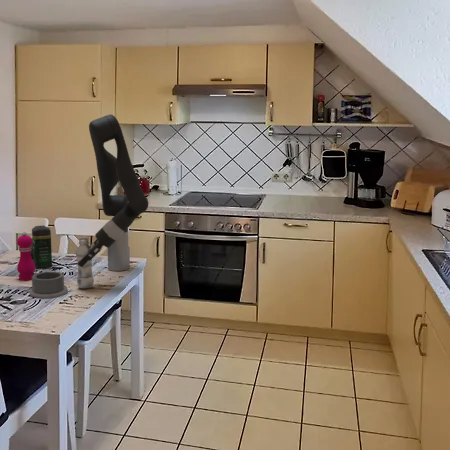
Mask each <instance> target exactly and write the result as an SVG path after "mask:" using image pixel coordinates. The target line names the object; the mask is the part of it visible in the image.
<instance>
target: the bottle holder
mask: <svg viewBox="0 0 450 450" xmlns="http://www.w3.org/2000/svg"><path fill="white" fill-rule="evenodd" d="M34 274H35V275H33V276H32V280H31V286H32V287H31V288H30V290H29V291H28V292H29V296H30V297H32V298H35V299H36V298H37V299H53V298H58V297H61V296H64V295H66V294H67V293H68V287H67V286H66V285H65V276H64V275H65V274H64V273H63V272H60V271H43V272H38V273H34Z"/></svg>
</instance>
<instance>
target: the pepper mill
mask: <svg viewBox="0 0 450 450" xmlns="http://www.w3.org/2000/svg"><path fill="white" fill-rule="evenodd" d="M16 244H17V245H18V251H19V261H18V263H17V267H16V271H17V272H18V273H19V274H18V280H20V281H32V276H33V275H35V274H36V273H34V272H35V271H36V268H35V264H34V262H33V259H32V257H31V250H32V249H31V245H32V236H29V235H28V233H27V232H26V231H22V233H21V235H20V236H18V238H17V240H16Z"/></svg>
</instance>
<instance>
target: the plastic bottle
mask: <svg viewBox="0 0 450 450" xmlns="http://www.w3.org/2000/svg"><path fill="white" fill-rule="evenodd" d="M89 243H90V241H89V238H87V237H84V238H83V237H81V238H79V240H78V247H77V249H76V251H75V256H76V262H77V278H76V279H77V280H76V283H77V285H76V286H77V287H78V288H79V289H83V290H84V289H85V290H86V289H90V288H92V287H93V286H94V282H95V278H94V276H93V268H92V267H93V266H92V265H93V264H92V263H93V258H92V259H91V261H88V262H87V263H86V264H85V265H84V266H83V267H80V266H79V265H78V262H79V261H80V260H81V259H82V258H83V257H84V256H85V255H86V254H87V251H88V250H89V249H90V245H89ZM88 256H89V257H91V255H90V254H89V255H88Z"/></svg>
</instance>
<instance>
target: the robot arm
mask: <svg viewBox="0 0 450 450" xmlns="http://www.w3.org/2000/svg"><path fill="white" fill-rule="evenodd" d="M88 131H89V135H90V140H91V142H92V147H93V149H94V150H93V151H94V156H95V162H96V168H97V176H98V179H99V185H100V186H99V187H100V190H101V191H100V192H101V202H102V211H103V214H104V215H105V216H106V217H112V218H111V219H110V220H108V221H107V222H106V223H105V224H104V225H103V226H102V227H101V228H100V229H99V230H98V231H97V232H96V233H95V238H96V239H95V240H94V241H93V242H92V243H91V244H90V245H89V246H90V249H89V250H88V251H87V254H86V255H85V256H84V257H83V258H82V259H81V260H80V261H79V262H78V263H77V266H78V265H79V266H80V267H83V266H84V265H85V264H86V263H87V262H88V261H91V259H92V260H93V259H94V257H96V256H97V255H98V253H100V252H101V250H102V249H103V247H105V248H107V269H108V270H109V271H112V272H121V271H127V270H129V268H130V267H131V265H130V264H131V258H130V246H129V227H130V226H132V224H133V223H134V221H135V220H136V219H137V218H138V217H139V216H140V215H141V214H144V213H145V212H146V211H147V210H148V208H149V200H148V197H147V196H146V195H145V194H144V191H143V189H142V187H141V183H140V180H139V177H138V175H137V173H136V170H135V168H134V166H133V163H132V161H131V160H132V159H131V158H130V154H129V150H128V148H127V147H128V146H127V143H126V141H125V137H124V134H123V131H122V127H121V124H120V123H119V121H118V119H117V118H116V116H115V115H114V114H107V115H104V116H102V117H99V118H97V119H93V120H91V121H90V122H89V124H88ZM112 140H114V142H115V144H116V151H117V152H116V157H115V155H113V154H112V153H110V151H108V150H107V149H106V148H105V143H107V142H110V141H112ZM119 183H120V185H121V187H122V189H123V192H124V193H125V195H124V194H123V195H122V194H121V195H120V194H119V195H118V194H117V195H116V194H115V195H114V194H111V193H112V192H113V190H114V189H115V187H116V186H117V185H118V184H119ZM89 254H90V255H91V257H89V256H88V255H89Z"/></svg>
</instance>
